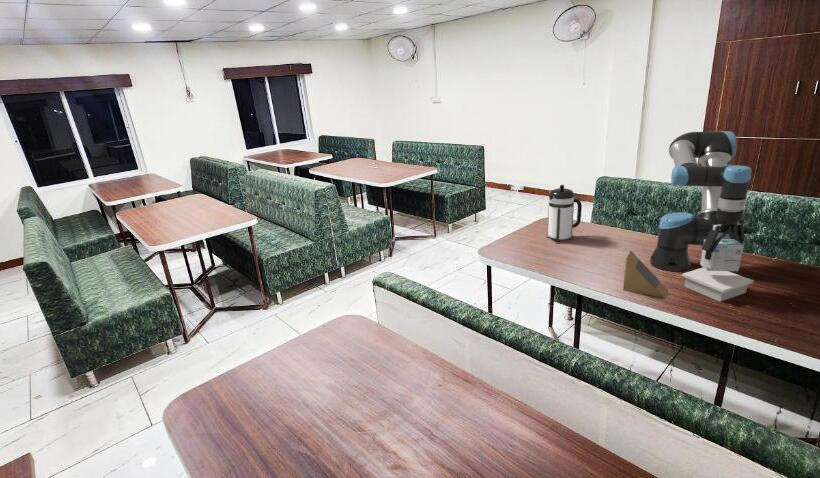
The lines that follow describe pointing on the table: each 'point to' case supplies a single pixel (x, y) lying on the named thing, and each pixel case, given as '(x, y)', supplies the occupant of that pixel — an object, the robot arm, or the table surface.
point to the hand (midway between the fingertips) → (719, 263)
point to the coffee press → (562, 213)
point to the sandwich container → (641, 278)
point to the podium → (716, 283)
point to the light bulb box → (725, 256)
